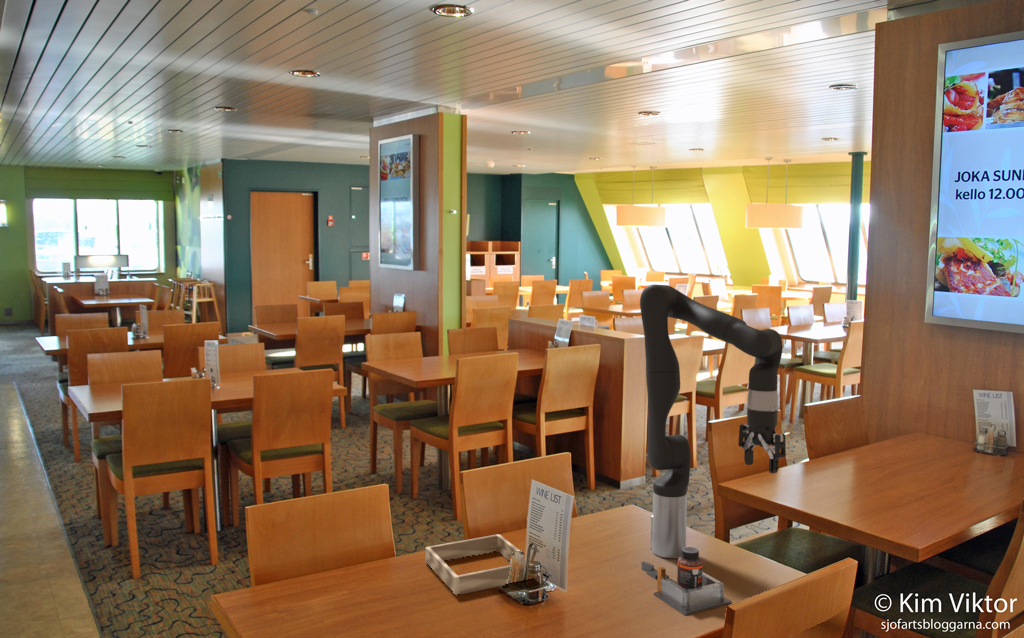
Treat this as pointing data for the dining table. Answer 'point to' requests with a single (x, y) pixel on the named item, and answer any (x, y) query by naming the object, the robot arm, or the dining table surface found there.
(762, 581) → the dining table surface
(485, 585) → the frame
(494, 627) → the dining table surface
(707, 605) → the keeper
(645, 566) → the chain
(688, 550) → the supplement bottle
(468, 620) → the dining table surface
